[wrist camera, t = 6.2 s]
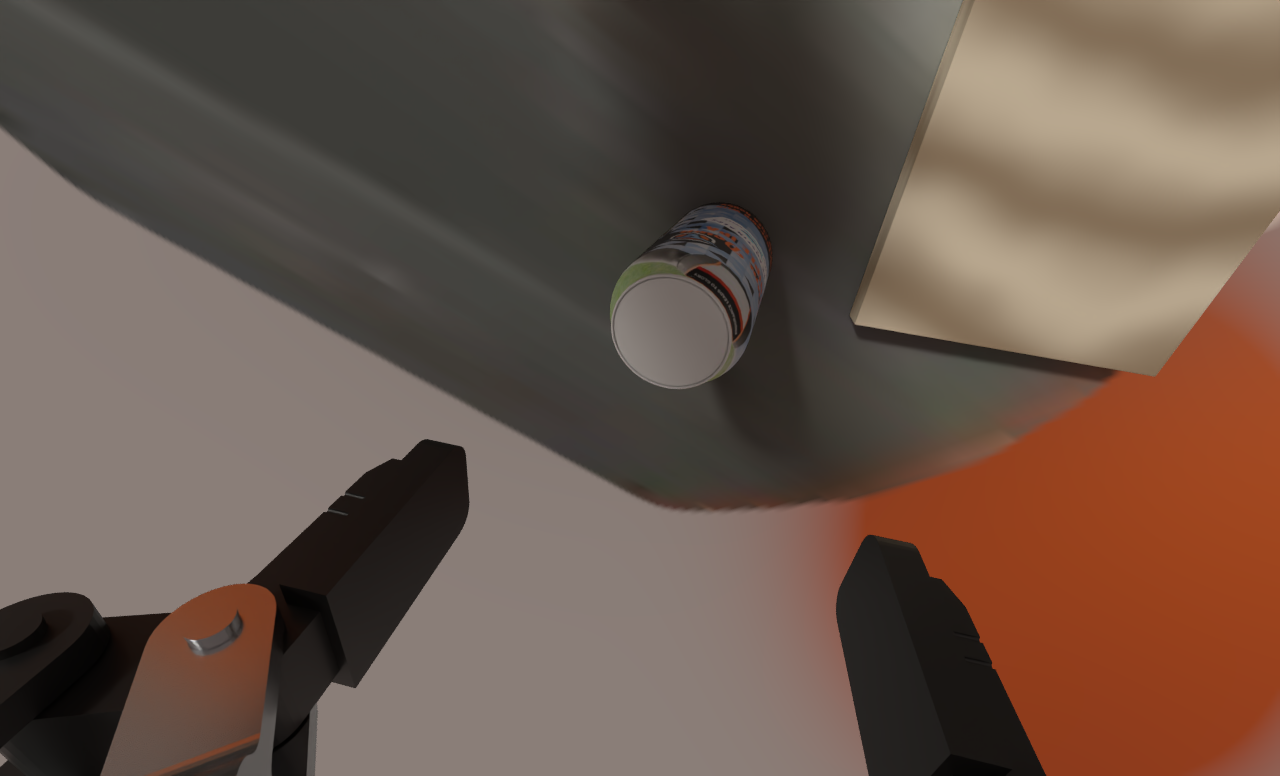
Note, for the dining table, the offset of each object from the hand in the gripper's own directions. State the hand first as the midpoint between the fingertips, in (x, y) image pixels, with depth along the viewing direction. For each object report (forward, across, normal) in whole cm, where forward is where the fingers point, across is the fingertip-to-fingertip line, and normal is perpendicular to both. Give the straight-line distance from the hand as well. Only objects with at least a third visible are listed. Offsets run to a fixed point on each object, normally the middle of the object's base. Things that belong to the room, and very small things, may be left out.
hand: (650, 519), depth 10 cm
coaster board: (+22, -17, -6) cm, 28 cm away
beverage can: (+22, 0, 0) cm, 22 cm away
